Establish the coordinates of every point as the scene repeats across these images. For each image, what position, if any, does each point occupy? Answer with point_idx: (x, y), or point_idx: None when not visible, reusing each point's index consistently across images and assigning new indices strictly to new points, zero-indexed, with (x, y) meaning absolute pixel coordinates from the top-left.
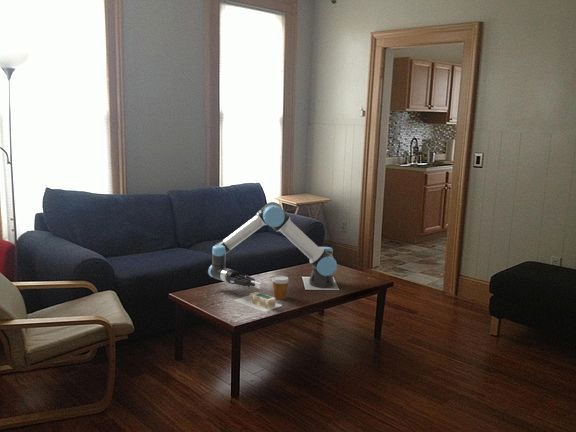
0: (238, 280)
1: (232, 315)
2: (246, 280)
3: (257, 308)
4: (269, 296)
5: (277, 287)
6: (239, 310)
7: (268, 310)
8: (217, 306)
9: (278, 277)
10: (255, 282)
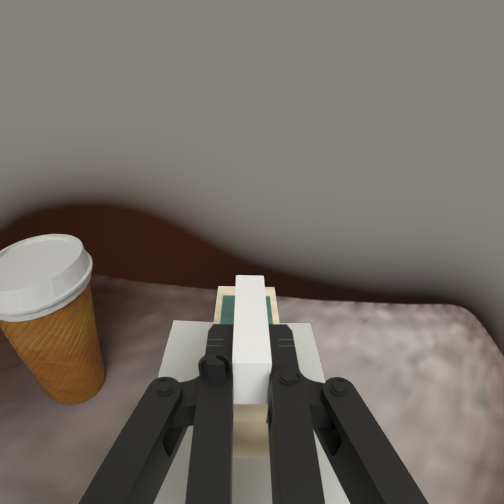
0: (408, 480)
1: (458, 370)
2: (295, 421)
3: (312, 364)
4: (222, 311)
5: (92, 305)
6: (409, 403)
7: (281, 323)
8: (495, 501)
9: (11, 276)
10: (263, 308)
